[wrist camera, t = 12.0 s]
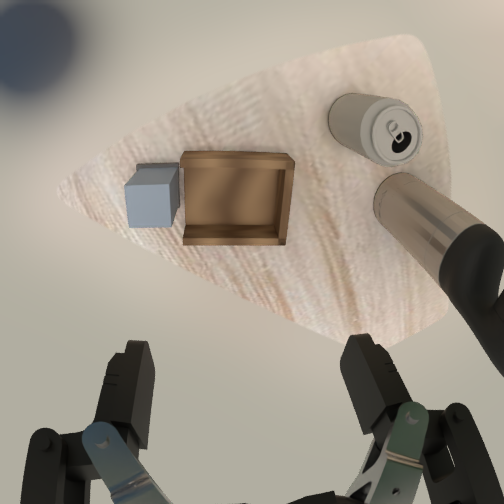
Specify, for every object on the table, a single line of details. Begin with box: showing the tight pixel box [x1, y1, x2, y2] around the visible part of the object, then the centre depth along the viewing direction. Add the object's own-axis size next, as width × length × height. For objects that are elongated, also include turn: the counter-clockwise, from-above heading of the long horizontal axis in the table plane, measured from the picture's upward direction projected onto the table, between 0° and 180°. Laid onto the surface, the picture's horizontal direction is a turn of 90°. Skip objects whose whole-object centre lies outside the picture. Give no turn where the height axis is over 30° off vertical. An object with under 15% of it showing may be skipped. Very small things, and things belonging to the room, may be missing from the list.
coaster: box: [136, 163, 180, 208], centre depth 37 cm, size 6×6×1 cm
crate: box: [180, 151, 295, 245], centre depth 37 cm, size 13×11×4 cm
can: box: [329, 93, 423, 167], centre depth 30 cm, size 8×8×12 cm
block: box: [124, 167, 179, 228], centre depth 34 cm, size 5×5×7 cm
